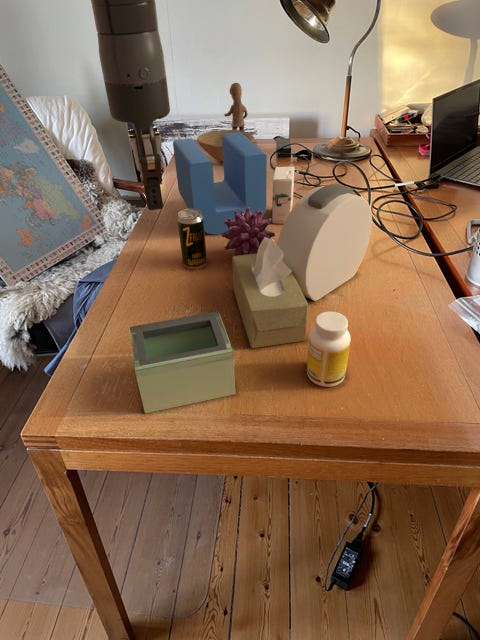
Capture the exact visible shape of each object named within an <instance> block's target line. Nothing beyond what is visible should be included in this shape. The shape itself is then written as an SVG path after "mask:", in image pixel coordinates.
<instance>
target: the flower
mask: <svg viewBox="0 0 480 640" xmlns="http://www.w3.org/2000/svg"><path fill="white" fill-rule="evenodd" d="M233 212H234V214H235V219H231V218H228V221H227V220H225V222H224V223H225V224H226V225H227V227H228V229H229V230H228V231H226V232H224V233H221V234H220V237H222V238H225V239H226V240H228V242H227V244H226V245H225V246H224V247H223V249H224V250H225V251H227V250H234V251H233V256H240V255H248V254H257V252H258V249H259V246H260V244H261V242H262V241H263V239H264V237H266V238H269V239H271V238H273V237H276V232H274V230H269V229H267V228H268V227H269V225H270V223H271V222H272V218H268V219H263V217H262V213H263V211H261V210H260V212H259V211H258V210H257V211H256V213H252V214H251V211H250V207H249V206H248V207H247V209H246V212H245V213H244V210H242V211H241V215H240V214H239V213H238V212H237V211H236V210H234V211H233Z"/></svg>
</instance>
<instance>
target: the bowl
mask: <svg viewBox="0 0 480 640" xmlns="http://www.w3.org/2000/svg"><path fill="white" fill-rule="evenodd" d="M234 132H241V133H242V134H243V135H244V136H245V137H247V138H248V139H249V140H250V141H251V142H252V143H253V144H254V142H255V136H254V135H253V134H252V133H251V132H248V131H245V130H244V131H241V130H239V129H237V130H232V129H218V130H212V131H206V132H203V133H200V134H199V135H198V136H197V137H196V140H197V143H198V146H199V147H200V148H202V149H203V151H205V152H206V153H207V154H208V155H209V156H210V157H212V158H213V159H215V160H217V161H218V162H219V161H220V162H223V147H222V135H223V134H226V133H234Z"/></svg>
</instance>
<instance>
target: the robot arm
mask: <svg viewBox="0 0 480 640" xmlns="http://www.w3.org/2000/svg"><path fill="white" fill-rule="evenodd" d="M90 2H91V3H90V4H91V8H92V14H93V20H94V24H95V29H96V37H97V43H98V55H99V62H100V67H101V71H102V78H103V82H104V88H105V93H106V98H107V101H108V102H107V103H108V108H109V113H110V116H111V118H112V119H113V120H115V121H117V122H121V123H131V124H132V129H127V133H128V140H129V143H130V148H131V150H132V151H133V156H134V162H135V166H136V170H137V171H138V172H140V179H141V180H140V181H141V184H142V185H143V190H144V194H145V202H146V206H147V209H148V211H157V210H162V209H163V208H164V203H163V196H162V188H161V187H162V186H161V185H163V182H164V181H163V177H162V168H163V160H162V152H161V149H162V146H163V144H162V138H161V133H160V131H159V128H158V126H154V122H155V121H156V120H162V119H164V118H166V117H167V116H168V115H169V114H170V111H171V106H170V97H169V88H168V80H167V79H168V78H167V72H166V61H165V54H164V48H163V44H162V39H161V34H160V30H159V23H158V14H157V4H156V0H90Z"/></svg>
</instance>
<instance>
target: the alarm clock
mask: <svg viewBox="0 0 480 640" xmlns="http://www.w3.org/2000/svg"><path fill="white" fill-rule="evenodd" d="M353 193H354V189H353V188H352V187H349V186H346V185H343V184H339V183H331V184H328V185H320V186H316V187H314V188H313V189H311V190H310V191H307V192H306V193H305V194H304V195H303V196H301V198H300V199H299V200H298V201H297V202H296V203H295V205H293V207H292V210H291V212H290V213H289V215H288V217H287V219H286V221H285V223H284V224H282V227H281V229H280V232H279V236H278V239H277V241H276V244H277V245H278V246H279V248H280V249H281V250H282V251H283V253H284V257H283V259H282V260H283V262H284V264H285V265H286V266H287V267H288V268H289V269H291V270H292V274H293V276H294V277H295V279H296V281H297V283H298V285H299V287H300V289H301V291H302V293H303V295H304V297H305V298H308V299H309V300H311V301H314V302H317V301H319V300H320V299H322V298H323V297H325V296H326V295H328V294H329V293H331V292H332V291H334V290H336V289H337V288H339V287H340V286H341V285H343V284H344V283H347V282H348V281H349V280H350V279H352V278H353V277H354V276H355V274H356V273H357V271H358V269H359V268H360V266H361V264H362V262H363V260H364V258H365V255H366V252H367V250H368V247H369V243H370V239H371V235H372V229H373V213H372V209H371V206H370V203H369V202H368V201H367V200H366V199H365V197H363V196H360V195H357V194H353Z"/></svg>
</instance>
